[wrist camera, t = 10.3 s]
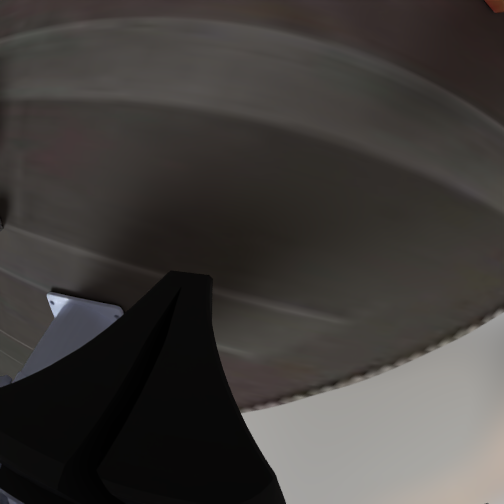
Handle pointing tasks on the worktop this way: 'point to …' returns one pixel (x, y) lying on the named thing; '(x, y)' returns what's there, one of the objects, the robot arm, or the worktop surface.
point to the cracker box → (496, 5)
